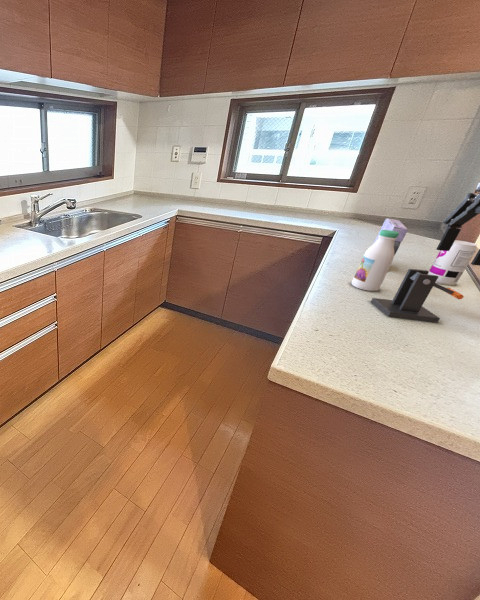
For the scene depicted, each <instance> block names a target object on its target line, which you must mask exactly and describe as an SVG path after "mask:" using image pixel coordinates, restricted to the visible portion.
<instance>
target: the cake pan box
mask: <svg viewBox="0 0 480 600" xmlns="http://www.w3.org/2000/svg"><path fill="white" fill-rule="evenodd" d="M381 230H391V231H396V232H398V233H399V235H398V237H397V239H396V240H395V241H394V257H395V255H396V254H397V252H398V250H399V248H400V247H401V244H402V242H403V241H404V239H405V237H406V235H407V233H408V231H409V229H408V228H407V227H406V225H404V224H403V223H402V222H401V221H400V220H399V219H393V218H389V217H388V218H387V217H386V218H385V219H384V222H383V224H382V226H381V227H380V229H379V232H378V234H377V235H376V238H375V239H374V241H373V244H374V243H375V242H376V241H377V240H378V238H379V234H380V232H381Z"/></svg>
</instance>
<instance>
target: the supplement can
mask: <svg viewBox="0 0 480 600" xmlns="http://www.w3.org/2000/svg"><path fill="white" fill-rule="evenodd" d="M477 245H478V244H476V243H473V242H469V241H464V240H459V239H455V241H454V243H453V245H452V247H451V248H450V250H449V251H443V250H439V252H438V254H437V256H436V258H435V259H434V261H433V263H432V265H431V267H430V268H429V270H428V271H429V272H428V275H437V276H438V279H437V280H436V282H435V283H437V284H439V285H442V286H454V285H456V284H458V283H459V280H460V279H461V277H462V275H463V274H464V273H465V271H466V269H467V267H468V266H469V264H470V262H471V261H472V260H473V258H474V255H476V253H477V250H478V249H477V248H478V247H477Z"/></svg>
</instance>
